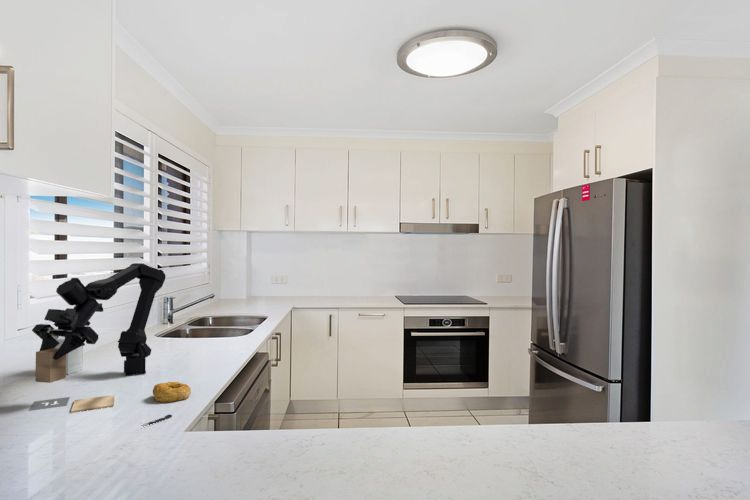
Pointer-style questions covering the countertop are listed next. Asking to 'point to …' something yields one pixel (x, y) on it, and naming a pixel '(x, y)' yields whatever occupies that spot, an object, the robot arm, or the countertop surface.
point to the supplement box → (72, 358)
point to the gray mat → (49, 403)
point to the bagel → (171, 392)
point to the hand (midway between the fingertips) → (46, 358)
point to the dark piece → (157, 420)
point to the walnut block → (49, 366)
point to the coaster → (93, 403)
